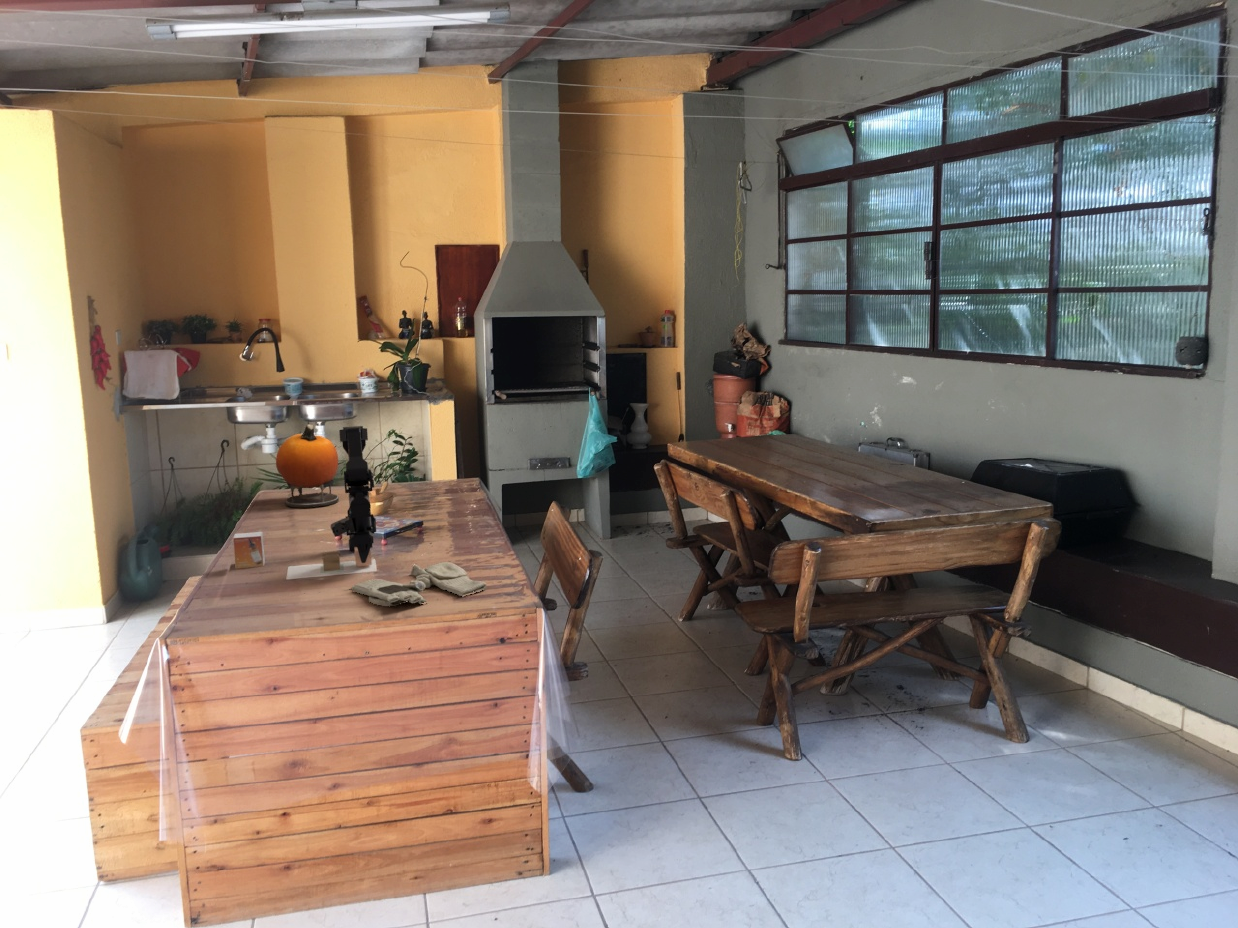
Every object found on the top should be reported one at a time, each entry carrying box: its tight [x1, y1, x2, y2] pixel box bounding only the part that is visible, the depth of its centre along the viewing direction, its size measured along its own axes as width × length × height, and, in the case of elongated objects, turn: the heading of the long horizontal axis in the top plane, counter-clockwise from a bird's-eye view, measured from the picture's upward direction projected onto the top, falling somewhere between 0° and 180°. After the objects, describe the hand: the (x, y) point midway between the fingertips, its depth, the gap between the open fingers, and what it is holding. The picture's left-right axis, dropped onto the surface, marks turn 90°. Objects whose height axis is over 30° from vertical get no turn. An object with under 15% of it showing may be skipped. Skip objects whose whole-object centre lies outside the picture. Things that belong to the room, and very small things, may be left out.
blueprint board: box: [285, 558, 378, 580], centre depth 300 cm, size 25×13×1 cm, turn 105°
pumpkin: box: [275, 424, 340, 509], centre depth 386 cm, size 22×22×30 cm
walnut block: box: [322, 550, 341, 571], centre depth 299 cm, size 4×4×4 cm
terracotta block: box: [354, 547, 372, 566], centre depth 301 cm, size 4×4×4 cm
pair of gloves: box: [351, 561, 487, 608], centre depth 282 cm, size 30×26×5 cm
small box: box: [232, 531, 266, 570], centre depth 304 cm, size 8×6×10 cm
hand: (363, 560), depth 301 cm, fingers closed on terracotta block, 4 cm apart
